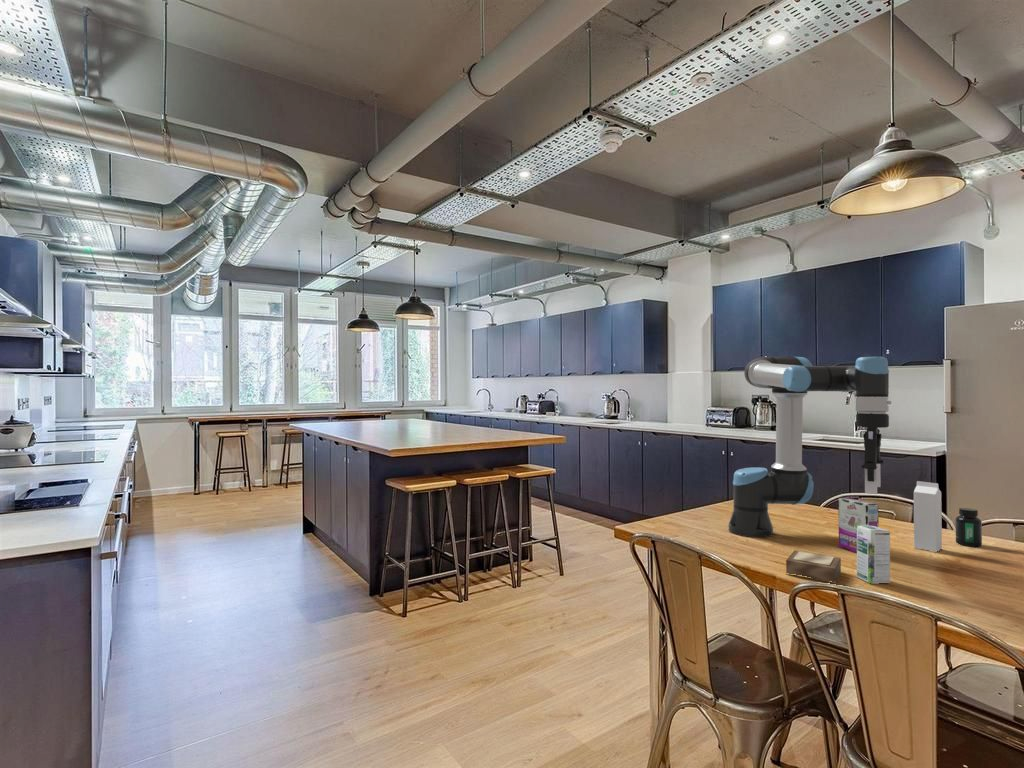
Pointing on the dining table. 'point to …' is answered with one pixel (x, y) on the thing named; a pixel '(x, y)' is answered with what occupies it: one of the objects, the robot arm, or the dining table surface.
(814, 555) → the plinth
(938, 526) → the milk
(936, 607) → the dining table surface
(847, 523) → the candy bar box
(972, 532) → the supplement bottle
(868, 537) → the syrup box
